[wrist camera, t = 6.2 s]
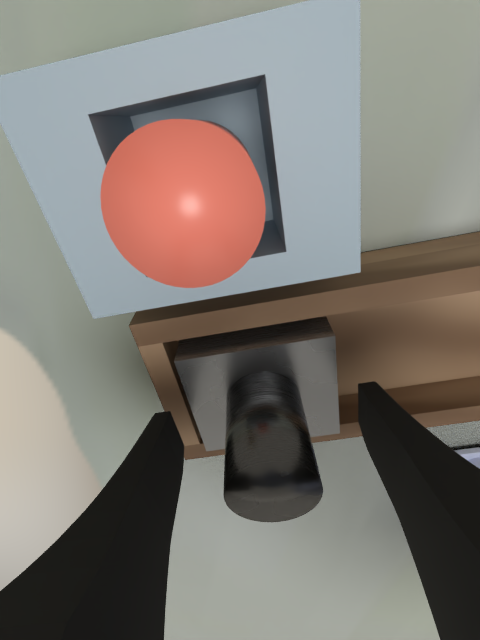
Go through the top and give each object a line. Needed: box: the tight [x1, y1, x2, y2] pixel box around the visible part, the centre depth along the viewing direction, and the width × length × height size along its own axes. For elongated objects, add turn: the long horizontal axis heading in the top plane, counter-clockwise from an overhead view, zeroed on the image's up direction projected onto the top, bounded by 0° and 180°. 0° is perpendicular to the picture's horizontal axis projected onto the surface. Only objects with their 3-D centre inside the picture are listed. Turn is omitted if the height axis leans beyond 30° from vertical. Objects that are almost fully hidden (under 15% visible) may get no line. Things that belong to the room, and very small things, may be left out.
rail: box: [129, 232, 480, 460], centre depth 15 cm, size 8×19×3 cm, turn 101°
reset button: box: [100, 119, 266, 288], centre depth 8 cm, size 3×3×4 cm
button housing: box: [0, 0, 361, 319], centre depth 10 cm, size 6×8×5 cm
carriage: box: [174, 316, 340, 522], centre depth 13 cm, size 5×6×6 cm
